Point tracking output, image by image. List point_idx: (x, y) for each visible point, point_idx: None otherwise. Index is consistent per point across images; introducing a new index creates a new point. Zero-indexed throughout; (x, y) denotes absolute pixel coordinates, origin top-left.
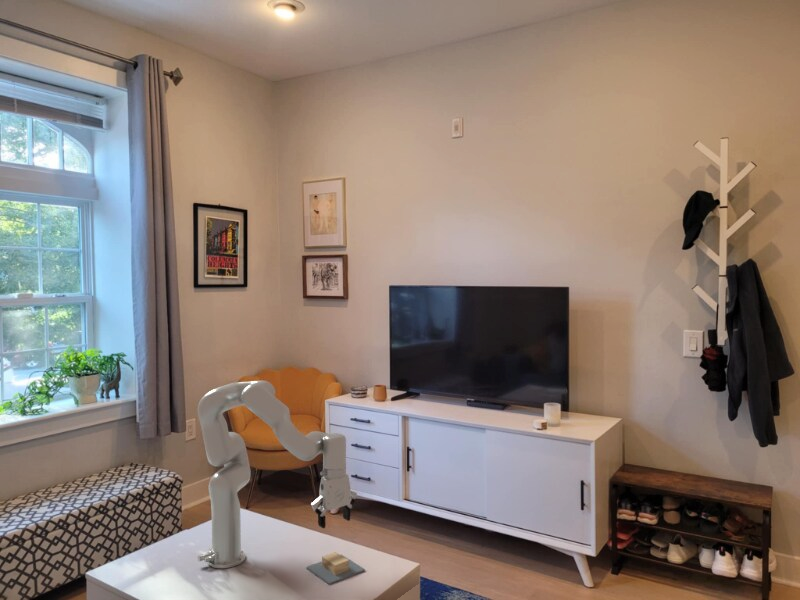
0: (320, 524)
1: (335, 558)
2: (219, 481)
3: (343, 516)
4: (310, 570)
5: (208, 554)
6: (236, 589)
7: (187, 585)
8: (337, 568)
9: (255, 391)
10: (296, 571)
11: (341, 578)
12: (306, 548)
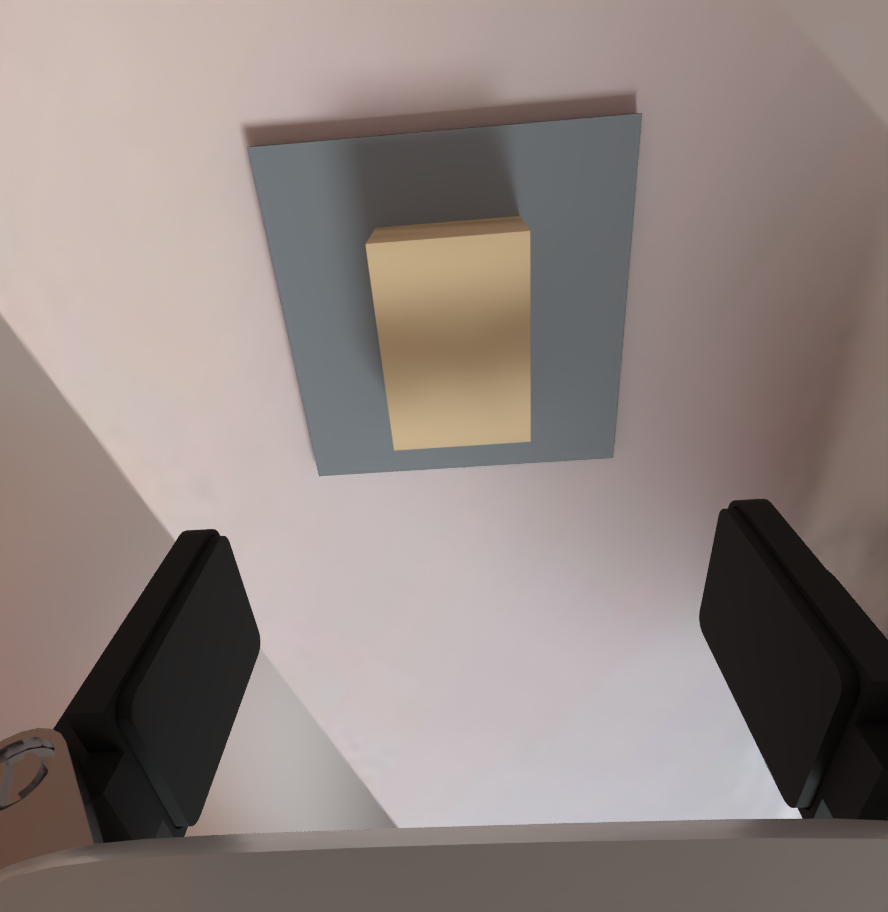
0: (832, 576)
1: (456, 349)
2: None
3: (252, 659)
4: (616, 403)
5: None
6: None
7: None
8: (498, 227)
9: None
10: (681, 454)
11: (505, 126)
12: (464, 648)
